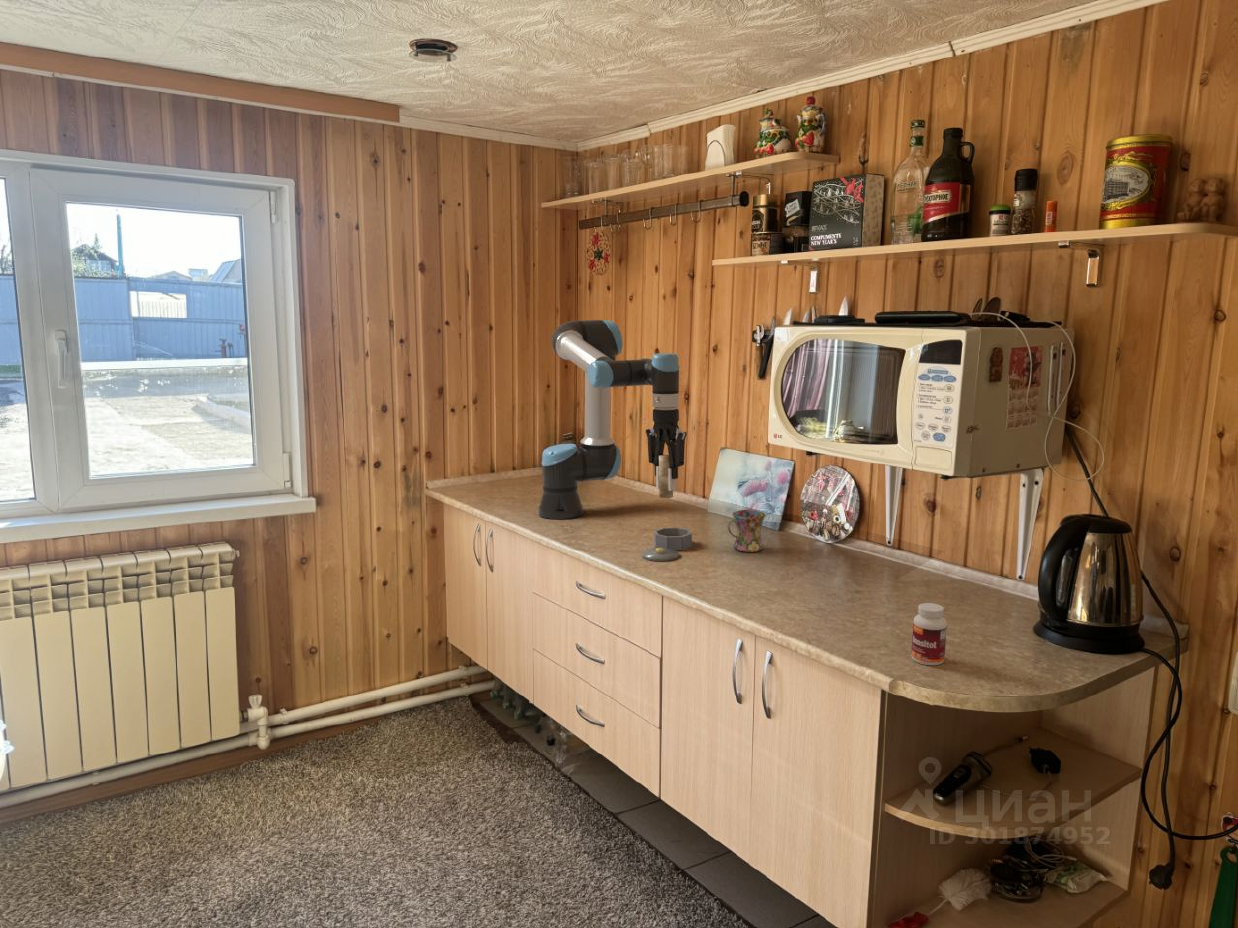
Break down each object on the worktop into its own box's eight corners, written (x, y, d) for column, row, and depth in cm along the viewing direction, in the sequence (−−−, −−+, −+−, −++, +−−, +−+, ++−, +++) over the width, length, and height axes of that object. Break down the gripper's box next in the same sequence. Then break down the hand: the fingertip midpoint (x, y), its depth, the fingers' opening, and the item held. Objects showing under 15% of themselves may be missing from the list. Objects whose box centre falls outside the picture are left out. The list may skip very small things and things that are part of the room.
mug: (751, 543, 253) (752, 508, 251) (771, 551, 245) (772, 514, 243) (718, 549, 247) (718, 513, 245) (737, 557, 239) (737, 520, 237)
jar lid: (635, 557, 241) (635, 549, 240) (657, 549, 248) (657, 541, 248) (663, 563, 234) (663, 555, 234) (685, 555, 242) (685, 547, 241)
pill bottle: (905, 660, 169) (908, 607, 167) (918, 651, 174) (921, 599, 172) (937, 669, 165) (940, 614, 163) (949, 659, 169) (952, 606, 167)
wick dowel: (656, 496, 248) (656, 456, 246) (665, 494, 251) (664, 454, 249) (667, 498, 246) (666, 457, 244) (675, 496, 249) (675, 455, 246)
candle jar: (647, 546, 251) (647, 532, 251) (669, 538, 259) (669, 525, 258) (676, 552, 244) (676, 539, 244) (698, 544, 252) (698, 531, 252)
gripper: (634, 407, 247) (635, 487, 251) (680, 411, 236) (681, 494, 240) (651, 405, 252) (652, 483, 256) (697, 408, 241) (697, 490, 245)
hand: (666, 488), depth 248 cm, fingers closed on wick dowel, 4 cm apart
